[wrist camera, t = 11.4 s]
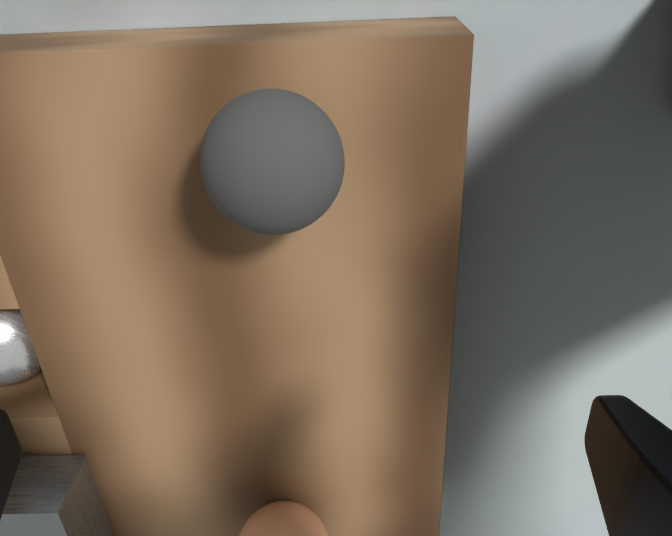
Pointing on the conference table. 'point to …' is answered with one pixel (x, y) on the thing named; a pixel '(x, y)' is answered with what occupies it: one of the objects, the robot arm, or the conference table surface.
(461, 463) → the conference table surface
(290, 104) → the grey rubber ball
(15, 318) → the steel ball
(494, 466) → the conference table surface
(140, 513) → the walnut deck
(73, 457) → the brushed grey metal box
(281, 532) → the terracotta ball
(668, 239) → the conference table surface
